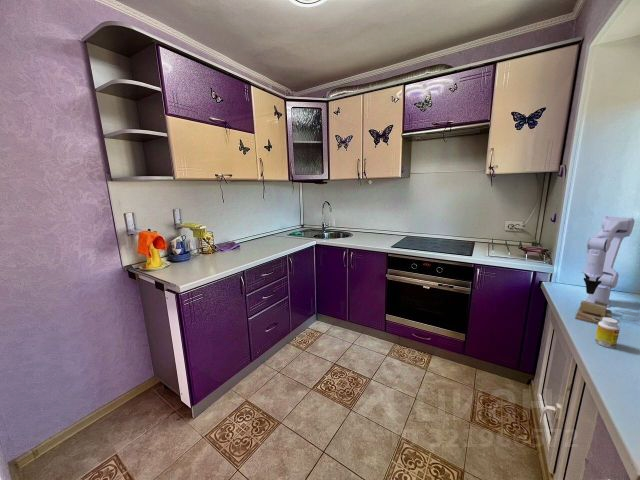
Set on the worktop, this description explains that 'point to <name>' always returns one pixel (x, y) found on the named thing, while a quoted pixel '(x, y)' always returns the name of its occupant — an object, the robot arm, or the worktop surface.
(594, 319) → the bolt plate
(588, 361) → the worktop surface
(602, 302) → the grey piece
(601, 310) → the divider leg
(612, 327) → the supplement bottle
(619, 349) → the worktop surface
